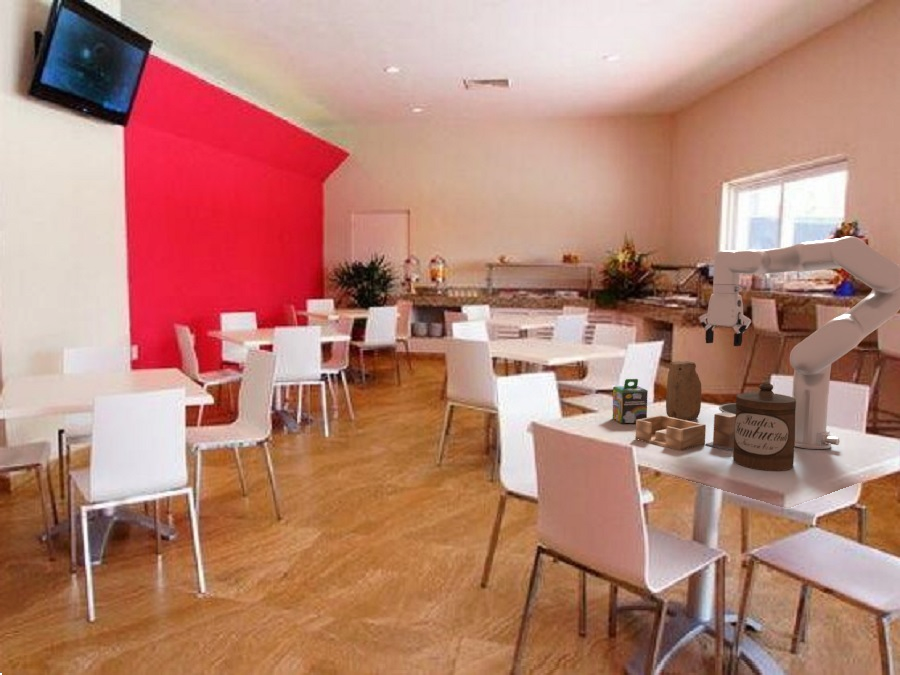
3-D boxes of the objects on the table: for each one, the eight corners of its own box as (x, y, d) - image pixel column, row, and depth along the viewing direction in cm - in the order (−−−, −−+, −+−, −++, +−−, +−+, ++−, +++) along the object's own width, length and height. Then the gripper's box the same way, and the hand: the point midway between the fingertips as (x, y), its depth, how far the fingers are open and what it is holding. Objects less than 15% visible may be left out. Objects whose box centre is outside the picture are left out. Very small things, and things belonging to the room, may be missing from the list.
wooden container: (726, 464, 183) (730, 383, 180) (741, 452, 194) (745, 376, 192) (786, 474, 174) (791, 389, 171) (798, 462, 185) (803, 382, 183)
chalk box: (636, 417, 239) (638, 376, 237) (647, 423, 230) (649, 380, 228) (611, 418, 238) (612, 376, 236) (621, 424, 229) (622, 380, 227)
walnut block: (738, 445, 201) (739, 415, 200) (728, 447, 198) (730, 417, 197) (722, 441, 205) (723, 412, 204) (713, 444, 202) (714, 414, 201)
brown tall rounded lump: (672, 420, 234) (674, 363, 232) (663, 416, 242) (665, 360, 240) (702, 420, 235) (705, 363, 233) (693, 415, 243) (695, 360, 241)
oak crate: (704, 444, 203) (705, 424, 202) (680, 450, 196) (681, 430, 195) (659, 433, 216) (660, 415, 215) (635, 439, 209) (636, 419, 208)
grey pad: (745, 446, 201) (745, 445, 201) (730, 450, 196) (730, 449, 196) (720, 441, 207) (720, 439, 207) (705, 445, 202) (705, 443, 202)
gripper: (758, 291, 209) (755, 346, 211) (708, 289, 223) (705, 341, 225) (745, 291, 205) (742, 347, 207) (694, 289, 219) (692, 342, 220)
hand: (723, 344), depth 216 cm, fingers open, 9 cm apart
